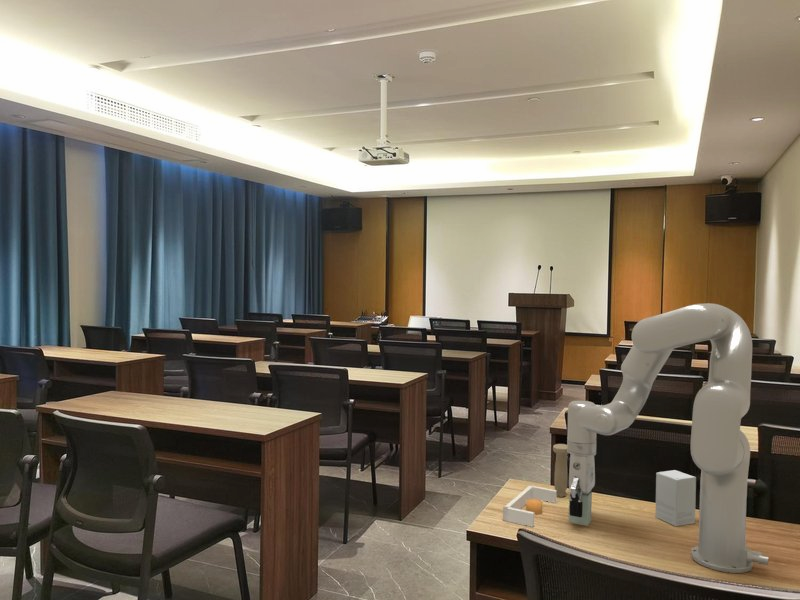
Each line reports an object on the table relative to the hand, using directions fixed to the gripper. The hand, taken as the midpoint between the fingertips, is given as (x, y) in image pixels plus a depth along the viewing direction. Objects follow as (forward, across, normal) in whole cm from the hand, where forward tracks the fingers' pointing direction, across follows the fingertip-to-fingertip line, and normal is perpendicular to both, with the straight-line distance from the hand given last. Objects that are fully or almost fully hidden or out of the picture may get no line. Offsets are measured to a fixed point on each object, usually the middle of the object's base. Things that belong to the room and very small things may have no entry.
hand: (580, 510), depth 162 cm
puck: (+3, 0, +13) cm, 13 cm away
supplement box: (+3, +16, -22) cm, 27 cm away
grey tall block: (+3, 0, 0) cm, 3 cm away
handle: (+3, +18, +10) cm, 20 cm away
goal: (+3, 0, +14) cm, 14 cm away
